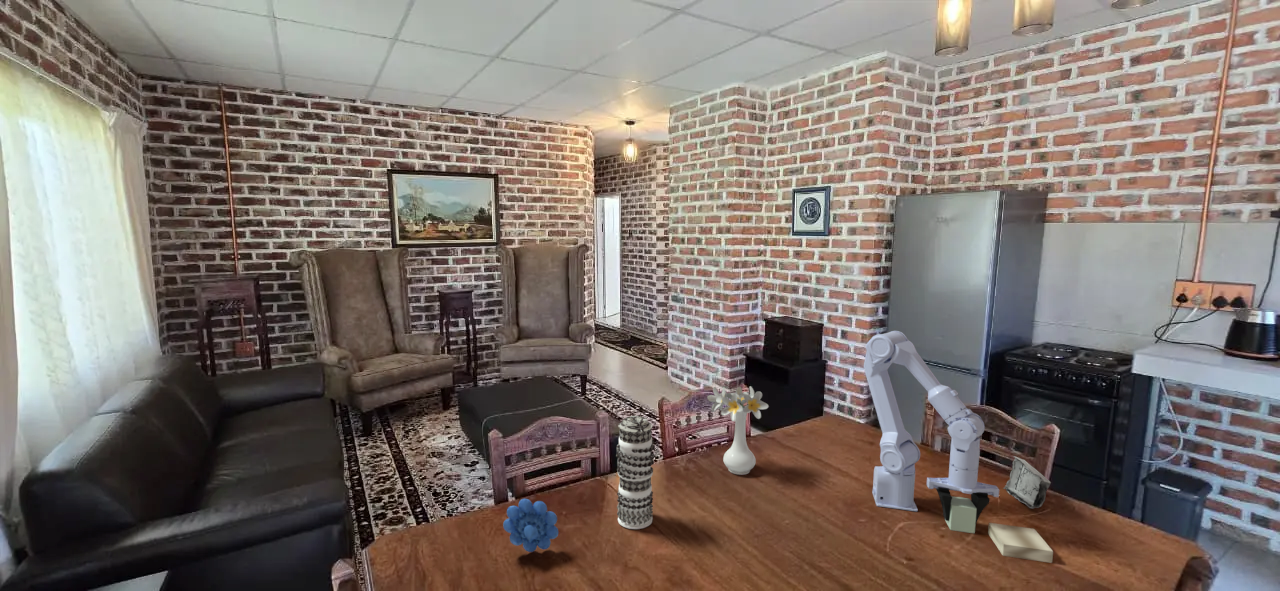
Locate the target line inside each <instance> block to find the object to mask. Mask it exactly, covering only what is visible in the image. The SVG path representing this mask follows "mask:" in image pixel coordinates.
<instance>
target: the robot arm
mask: <svg viewBox="0 0 1280 591" xmlns="http://www.w3.org/2000/svg"><path fill="white" fill-rule="evenodd" d="M865 351H866V352H865V355H864V356H865V358H864V363H863V369H864V372H865V374H864V375H865V377H866V379H867V384H868V387H869V391H870V394H871V397H872V398H871V399H872V403H873V405H874V408H875V412H876V415H877V420H878V422H879V426H880V429H881V433H882V435H881V438H880V442H879V448H880V455H879V458H880V459H879V460H880V464H881V465H880V466H879V465H875V466H874V469H873V482H872V484H873V485H872V491H871V492H872V496H873V499H874V502H875V506H876V507H880V508H881V507H883V508H889V509H895V510H896V509H897V510H903V511H910V512H918V507H917V504H916V503H915V501H914V494H915V480H916V468H915V464H916V463H917V462H919V460H920V458H921V451H920V449H919V447H918V445H917V444H916V443H915V441H914V440H913V437H912V436H913V435H912V434H911V433H909V432H908V431H907V430H906V429H905V425H904V422H903V419H902V415H901V412H900V408H899V405H898V401H897V398H896V395H895V391H894V389H893V388H894V387H893V384H892V382H891V377H890V374H889V371H888V369H889V368H890V366H891V365H892V364H897V365H900V366H903V367H905V368H906V369H907V370H908V371H909V373H911V375H912V376H913V378H915V379H916V380H917V382H918V383H919V384H920V385H921V386H922V387H923V388H924V389H925V390H926V392H927V401H928V402H929V403H930V405H931V406H932V407H933V408H934V409H935V410H936V413H938V414H939V415H940V417H941V418H942V419H943V421H944V422H945V423H946V424H947V425H948V427H947V432H948V434H949V436H950V437H951V441H950V454H949V465H948V467H949V468H948V477H926V486H927V488H928V489H929V490H934V489H936V492H937V494H938V497H939V500H940V503H941V508H942V512H943V514H942V515H943V518H944V520H946V521H949V518H950V505H951V500H952V495H951V491H955V492H961V493H962V494H967V495H970V500H971V501H972V503H973V504H974V506H975V507H976V509H977V510H976V523H975V525H977V523H978V520H979V518H980V516H981V513H982V512H983V510H984V509H985V508H986V506H988V505H989V503H990V501H991V500H990V498H989V496H992V497H994V498H999V496H1000V489H999V487H998V486H997V485H993V484H988V483H984V482H981V481H980V482H979V481H978V475H979V474H978V472H979V462H980V445H981V444H980V443H981V438H980V437H981V436H982V434H983V433H984V432H985V429H986V427H985V423H984V421H983V419H982V417H981V415H978V414H977V413H975V412H973V411H972V409H971V408H967V406H966V405H965V403H964V402H963V401H962V400H961V399H960V397H959V396H958V395H959V393H958V391H957V390H956V389H952V388H951V387H950V386H947V385H944V384H942V383H940V381H939V380H938V378H937V377H936V376H935V375H934V373H933V372H932V370H931V369H930V368H929V366H928V364H927V363H926V362H925V361H924V360H923V358H922V357H921V355H920V354H919V353H918V351H917V349H916V347H915V345H914V343H913V342H912V341H910V340H909V339H908V337H907V335H905V334H904V333H903V332H902V331H899V330H891V331H889V332H885V333H879V334H874V335H873V336H872V337H871V338H870V339H869V340H868V342H867V343H866V344H865ZM946 521H945V522H946Z"/></svg>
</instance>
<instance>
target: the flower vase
mask: <svg viewBox="0 0 1280 591" xmlns="http://www.w3.org/2000/svg"><path fill="white" fill-rule="evenodd" d="M721 391H722V392H719V391H718V389H717V387H716V386H713V388H712V392H713V395H712V394H709V395H707V398H706V399H707V400H708V401H709V402H710V403H713V404H712V407H711V412H712V413H715V412H716V411H717V410H718V409H719V411H721V412H720V414H721V416H728V415H729V414H730V420H731V422H734V423H735V424H734V434H733V436H734V438H733V442H732V444H731V445H730V447H729V449H727V451H725V452H724V455H723V458H722V460H723V463H724V465H725V467H726V468H727V469H728V472H730V473H731V474H734V475H738V476H741V475H747V474H749V473H750V472H751V470H752V469H753V468H754V467H755V465H756V461H757V460H756V457H755V455H754V453H753V452H752V451H751V450H750V448H749V446H748V443H747V438H746V422H747V414H750V413H751V412H752V414H753V415H754V417H755V418H756V419H758V420H760V419H761V418H762V413H761V411H760V410H767V409H768V408H769V407H770V406H769V404H768V403H766V402H764V401H762V400H761V399H762V398H763V393H762V392H761V391H756V392H755V390H754V388H753V386H749V391H744V392H743V388H742V387H741V386H737V388H736V390H735V392H727V390H726V388H725V386H723V388H722V390H721ZM745 403H746V405H744V404H745ZM723 406H725V407H723Z"/></svg>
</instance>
